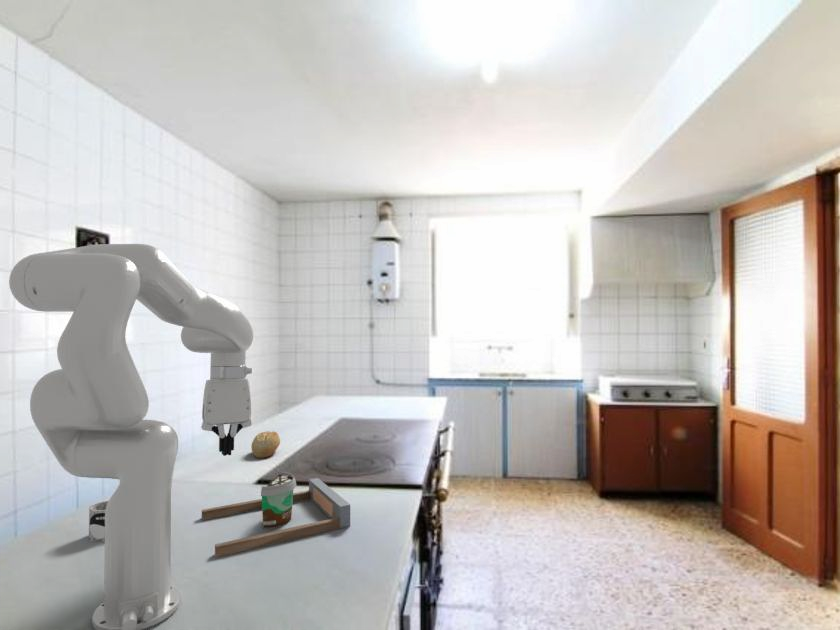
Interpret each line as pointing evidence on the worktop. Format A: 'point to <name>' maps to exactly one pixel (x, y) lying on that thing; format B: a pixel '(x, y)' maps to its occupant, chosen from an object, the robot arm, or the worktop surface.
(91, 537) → the mug
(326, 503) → the end stop
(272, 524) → the food container
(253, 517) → the worktop surface
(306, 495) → the guide track
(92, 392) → the robot arm
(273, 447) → the bread roll
